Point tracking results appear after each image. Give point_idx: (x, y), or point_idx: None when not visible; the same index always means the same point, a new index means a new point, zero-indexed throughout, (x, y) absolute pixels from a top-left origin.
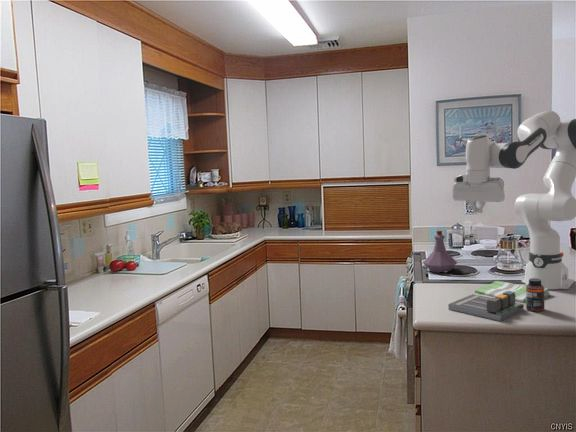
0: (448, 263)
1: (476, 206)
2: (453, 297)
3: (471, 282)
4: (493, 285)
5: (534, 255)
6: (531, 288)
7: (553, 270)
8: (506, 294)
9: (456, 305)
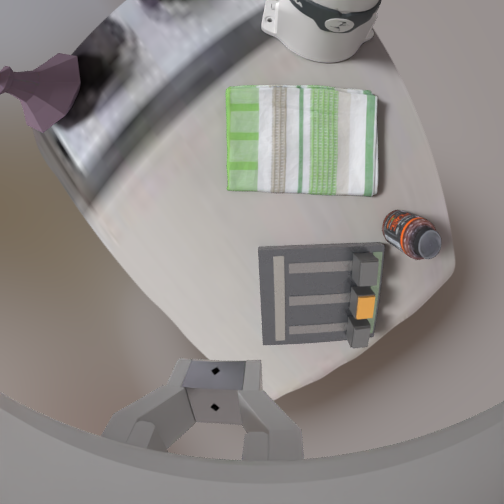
0: (70, 91)
1: (172, 399)
2: (216, 263)
3: (166, 114)
4: (240, 120)
5: (329, 13)
6: (419, 259)
7: (364, 26)
8: (368, 285)
9: (280, 342)
